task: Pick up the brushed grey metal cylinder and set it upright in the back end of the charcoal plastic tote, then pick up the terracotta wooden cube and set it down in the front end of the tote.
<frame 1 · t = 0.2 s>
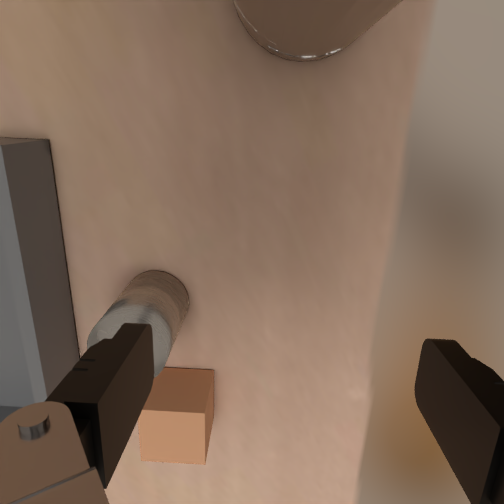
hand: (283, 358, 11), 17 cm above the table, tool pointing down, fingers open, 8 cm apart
cube: (185, 392, 33), on the table
cylinder: (157, 299, 30), on the table
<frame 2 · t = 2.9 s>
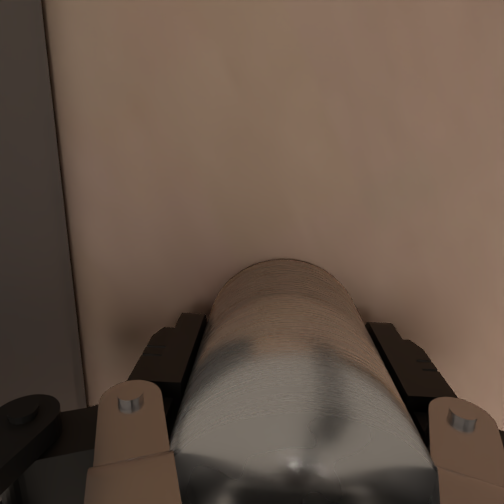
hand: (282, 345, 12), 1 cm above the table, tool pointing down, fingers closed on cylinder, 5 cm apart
cylinder: (282, 329, 13), on the table, touching gripper
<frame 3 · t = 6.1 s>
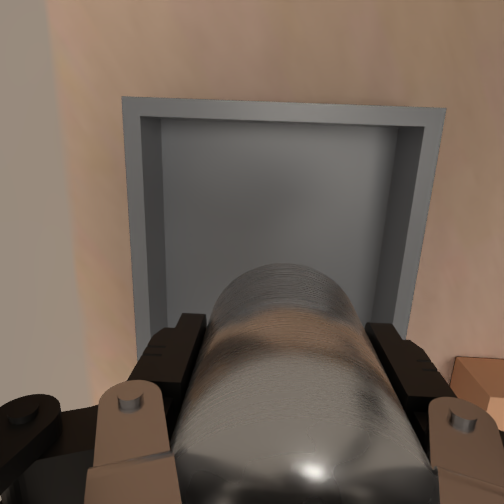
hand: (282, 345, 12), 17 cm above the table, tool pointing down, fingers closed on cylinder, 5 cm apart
cube: (480, 384, 32), on the table
tote: (270, 273, 29), on the table
cylinder: (282, 332, 13), point 16 cm above the table, touching gripper
when the fingers open (3 cm above the table, at t = 9.1 s): cylinder drops 1 cm, resting on tote.
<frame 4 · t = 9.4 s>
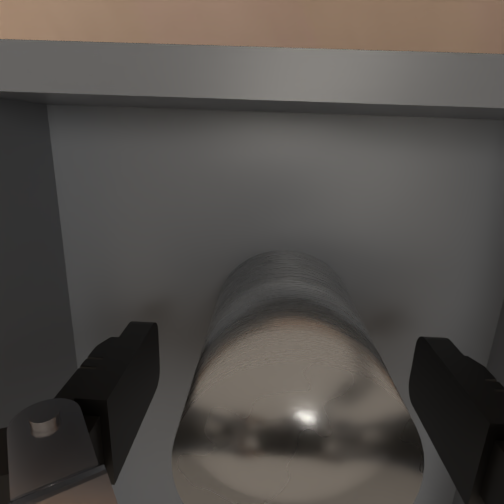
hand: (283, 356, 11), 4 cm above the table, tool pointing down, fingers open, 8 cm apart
tote: (274, 391, 16), on the table
cylinder: (282, 313, 14), point 1 cm above the table, touching tote
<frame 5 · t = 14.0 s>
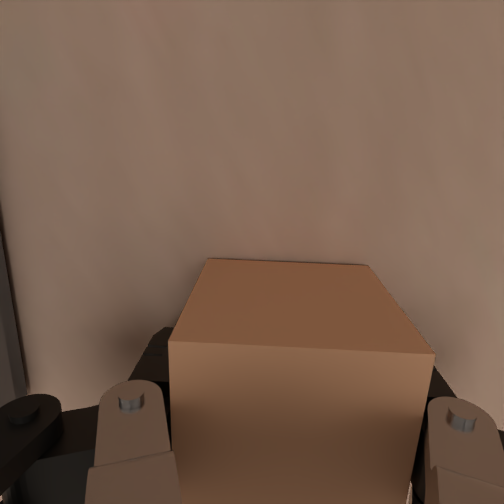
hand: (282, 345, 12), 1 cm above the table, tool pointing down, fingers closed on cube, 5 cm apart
cube: (282, 333, 13), on the table, touching gripper
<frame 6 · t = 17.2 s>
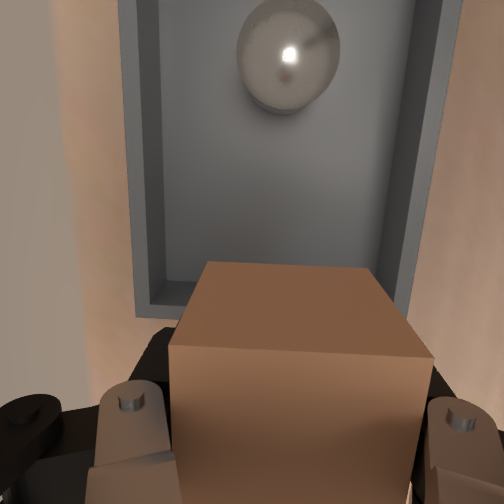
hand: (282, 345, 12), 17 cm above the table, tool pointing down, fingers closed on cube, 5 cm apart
cube: (282, 335, 13), point 17 cm above the table, touching gripper
tote: (277, 137, 27), on the table
cylinder: (282, 74, 25), point 1 cm above the table, touching tote
when the fingers open (2 cm above the table, at t = 20.4 s): cube drops 1 cm, resting on tote.
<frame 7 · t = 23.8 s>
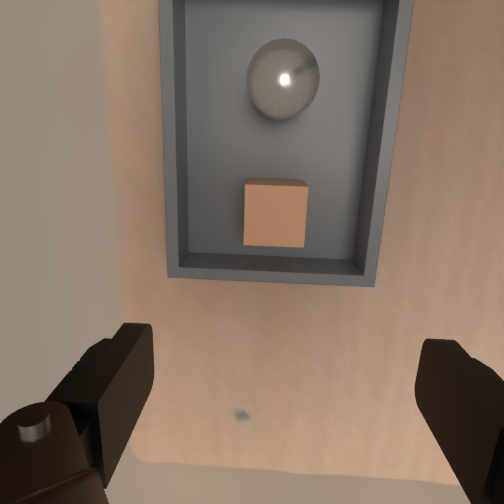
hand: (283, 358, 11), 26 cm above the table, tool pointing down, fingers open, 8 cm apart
cube: (274, 205, 36), point 1 cm above the table, touching tote
tote: (276, 138, 34), on the table
cylinder: (279, 90, 33), point 1 cm above the table, touching tote
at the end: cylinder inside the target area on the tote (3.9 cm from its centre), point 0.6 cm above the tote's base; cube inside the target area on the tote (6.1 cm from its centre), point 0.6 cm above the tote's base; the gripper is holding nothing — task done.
